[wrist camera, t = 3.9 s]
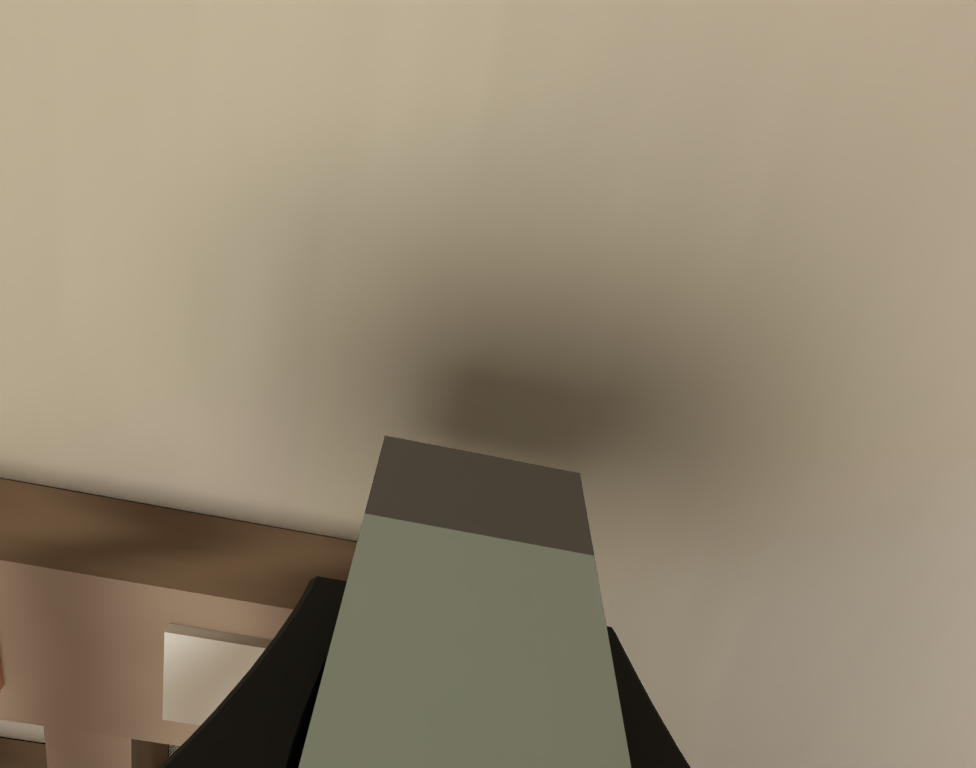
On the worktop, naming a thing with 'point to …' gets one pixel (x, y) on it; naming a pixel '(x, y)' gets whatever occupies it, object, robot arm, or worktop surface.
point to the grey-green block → (469, 624)
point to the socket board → (134, 619)
